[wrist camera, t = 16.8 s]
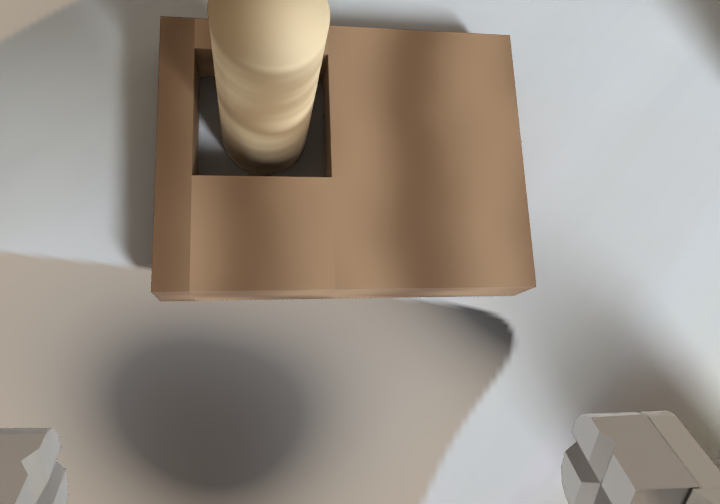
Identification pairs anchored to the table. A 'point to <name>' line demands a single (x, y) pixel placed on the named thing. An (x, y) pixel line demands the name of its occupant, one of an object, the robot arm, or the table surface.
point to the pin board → (353, 178)
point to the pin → (266, 76)
